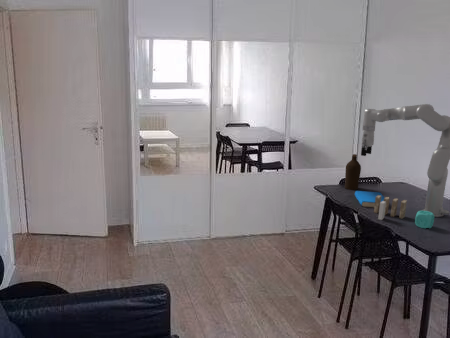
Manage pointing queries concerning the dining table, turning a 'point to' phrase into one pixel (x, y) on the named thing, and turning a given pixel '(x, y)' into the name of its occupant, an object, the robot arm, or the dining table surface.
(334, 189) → the dining table surface
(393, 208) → the domino
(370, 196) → the book
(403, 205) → the domino
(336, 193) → the dining table surface
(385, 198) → the domino
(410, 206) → the dining table surface
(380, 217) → the end domino
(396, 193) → the dining table surface
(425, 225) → the decorative dice
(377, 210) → the domino
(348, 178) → the olive oil
